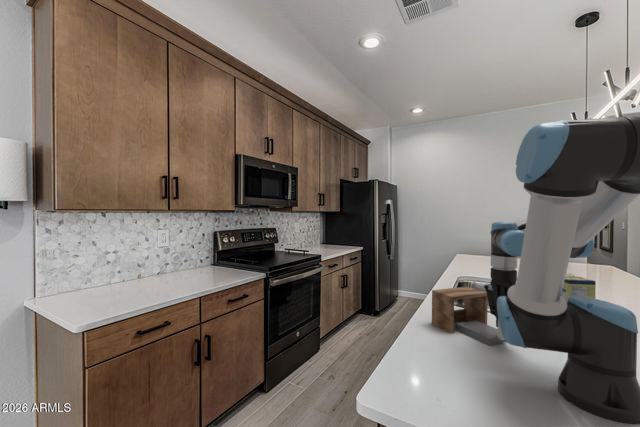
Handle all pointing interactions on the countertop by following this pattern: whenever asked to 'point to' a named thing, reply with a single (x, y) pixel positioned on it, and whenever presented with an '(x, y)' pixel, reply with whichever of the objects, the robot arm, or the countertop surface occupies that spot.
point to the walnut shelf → (472, 309)
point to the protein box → (578, 287)
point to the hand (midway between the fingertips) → (502, 338)
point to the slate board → (480, 332)
